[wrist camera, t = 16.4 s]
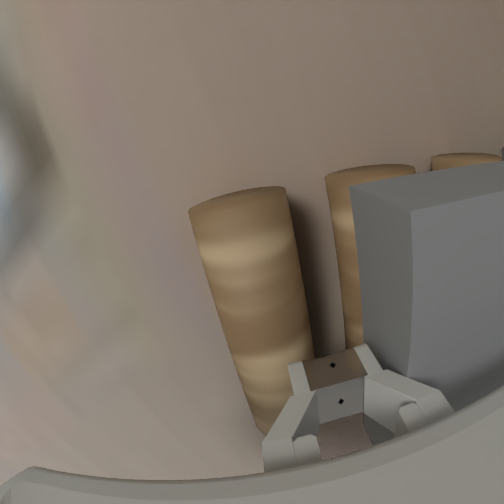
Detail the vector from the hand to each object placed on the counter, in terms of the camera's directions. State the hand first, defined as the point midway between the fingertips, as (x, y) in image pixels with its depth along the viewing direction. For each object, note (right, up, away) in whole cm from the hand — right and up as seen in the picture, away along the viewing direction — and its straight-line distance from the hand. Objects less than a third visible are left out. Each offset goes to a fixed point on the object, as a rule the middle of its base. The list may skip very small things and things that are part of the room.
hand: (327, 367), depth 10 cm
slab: (+9, +2, +1) cm, 9 cm away
